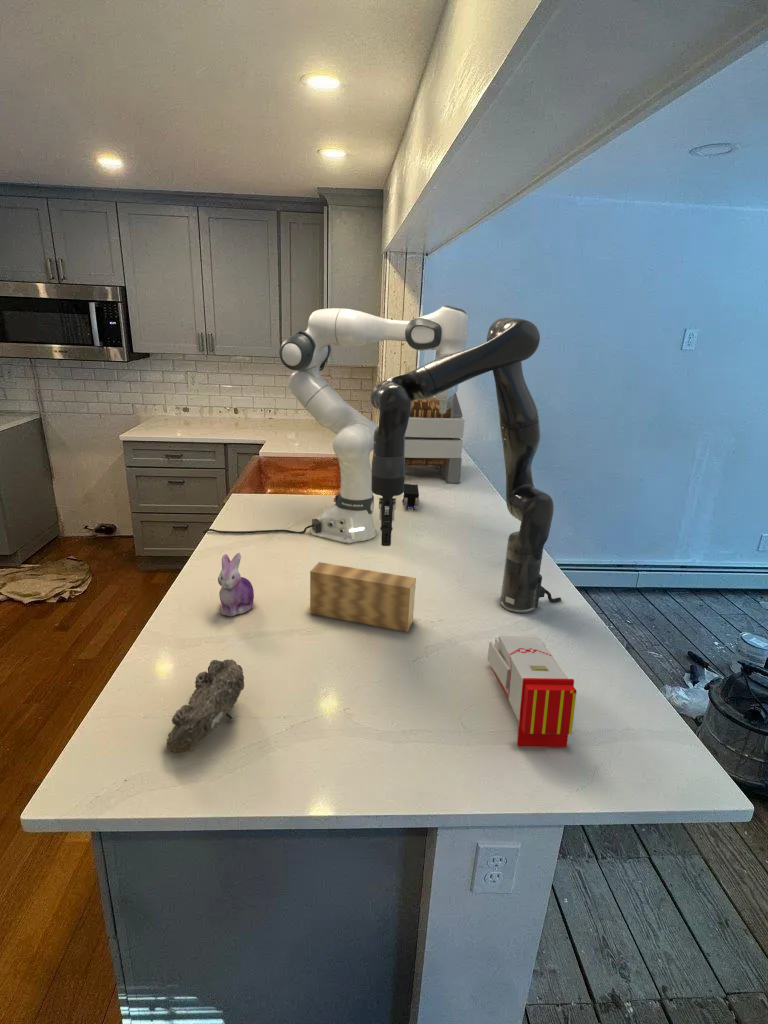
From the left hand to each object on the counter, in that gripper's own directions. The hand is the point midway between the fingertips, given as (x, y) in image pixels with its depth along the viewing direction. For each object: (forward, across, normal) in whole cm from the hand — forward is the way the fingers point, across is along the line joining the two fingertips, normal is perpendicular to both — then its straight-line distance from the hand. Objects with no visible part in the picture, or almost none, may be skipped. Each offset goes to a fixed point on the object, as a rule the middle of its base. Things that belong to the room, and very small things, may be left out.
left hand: (445, 410), depth 173 cm
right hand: (+22, +52, -3) cm, 57 cm away
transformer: (+46, -89, -24) cm, 103 cm away
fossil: (+46, +95, -24) cm, 108 cm away
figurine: (+46, +57, -40) cm, 84 cm away
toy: (+46, +70, +32) cm, 90 cm away
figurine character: (+46, -39, -17) cm, 63 cm away
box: (+46, +50, -9) cm, 69 cm away
